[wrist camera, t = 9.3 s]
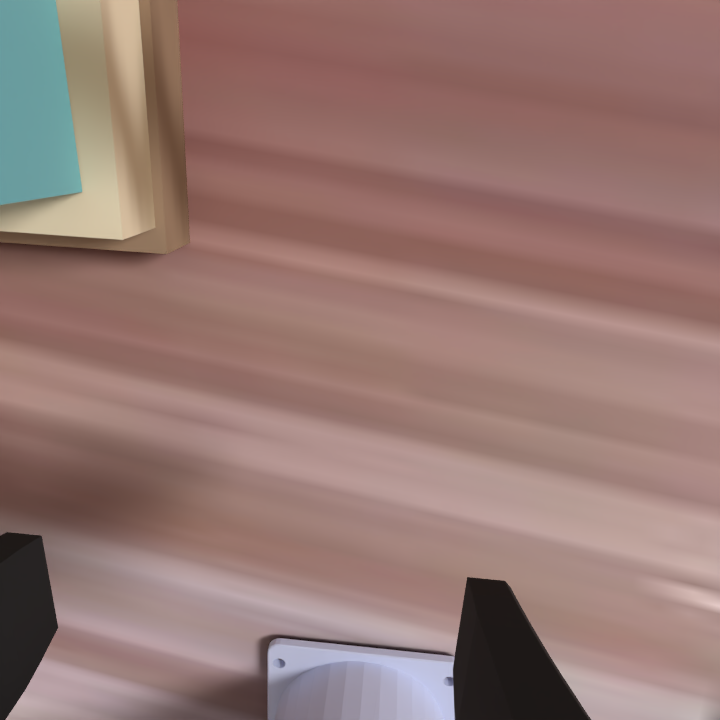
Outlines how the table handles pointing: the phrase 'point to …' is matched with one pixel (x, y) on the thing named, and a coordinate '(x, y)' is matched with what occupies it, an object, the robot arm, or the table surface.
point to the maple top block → (99, 129)
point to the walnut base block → (151, 143)
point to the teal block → (34, 105)
